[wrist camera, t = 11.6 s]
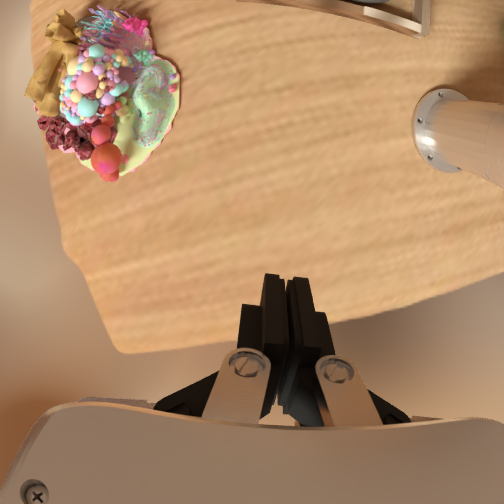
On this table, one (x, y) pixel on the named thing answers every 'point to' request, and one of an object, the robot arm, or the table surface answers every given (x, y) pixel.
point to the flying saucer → (370, 1)
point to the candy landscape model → (104, 91)
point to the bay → (367, 14)
